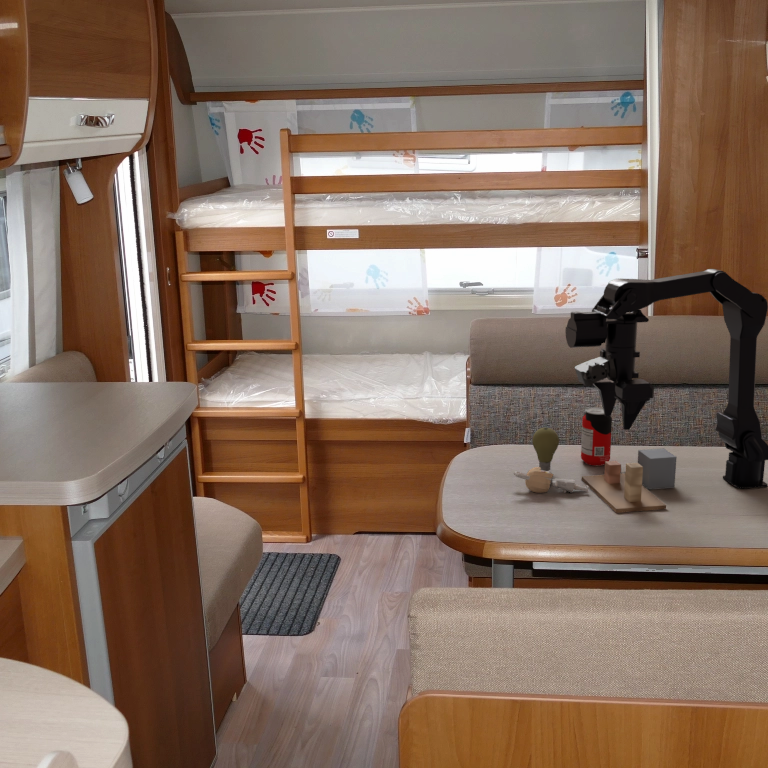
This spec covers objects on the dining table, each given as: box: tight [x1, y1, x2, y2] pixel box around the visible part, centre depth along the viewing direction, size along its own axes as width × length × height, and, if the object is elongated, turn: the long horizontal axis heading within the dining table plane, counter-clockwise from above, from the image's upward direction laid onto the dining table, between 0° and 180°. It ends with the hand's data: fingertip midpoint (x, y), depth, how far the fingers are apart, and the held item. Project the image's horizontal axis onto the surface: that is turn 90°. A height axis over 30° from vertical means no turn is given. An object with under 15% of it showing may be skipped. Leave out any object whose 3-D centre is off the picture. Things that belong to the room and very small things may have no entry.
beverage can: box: [580, 406, 613, 467], centre depth 187 cm, size 6×6×12 cm
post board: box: [581, 460, 667, 514], centre depth 169 cm, size 10×18×8 cm, turn 8°
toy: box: [513, 466, 590, 494], centre depth 171 cm, size 10×5×15 cm
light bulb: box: [531, 426, 560, 472], centre depth 181 cm, size 6×6×10 cm
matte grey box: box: [637, 447, 677, 491], centre depth 174 cm, size 6×6×7 cm
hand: (616, 422), depth 167 cm, fingers open, 9 cm apart
